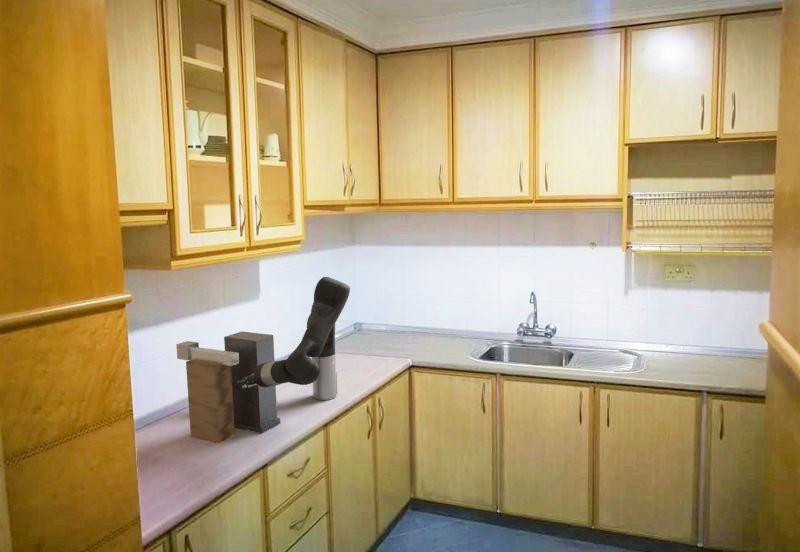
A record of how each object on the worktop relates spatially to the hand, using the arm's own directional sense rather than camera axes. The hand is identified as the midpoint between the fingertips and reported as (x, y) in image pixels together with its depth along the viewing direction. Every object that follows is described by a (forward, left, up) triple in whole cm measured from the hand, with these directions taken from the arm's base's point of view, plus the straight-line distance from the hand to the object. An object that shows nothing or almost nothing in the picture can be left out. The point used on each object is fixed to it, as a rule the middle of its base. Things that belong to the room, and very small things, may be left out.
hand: (244, 379), depth 207 cm
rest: (+4, -12, -20) cm, 24 cm away
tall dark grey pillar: (-10, -6, -20) cm, 23 cm away
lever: (+4, -12, +6) cm, 14 cm away
